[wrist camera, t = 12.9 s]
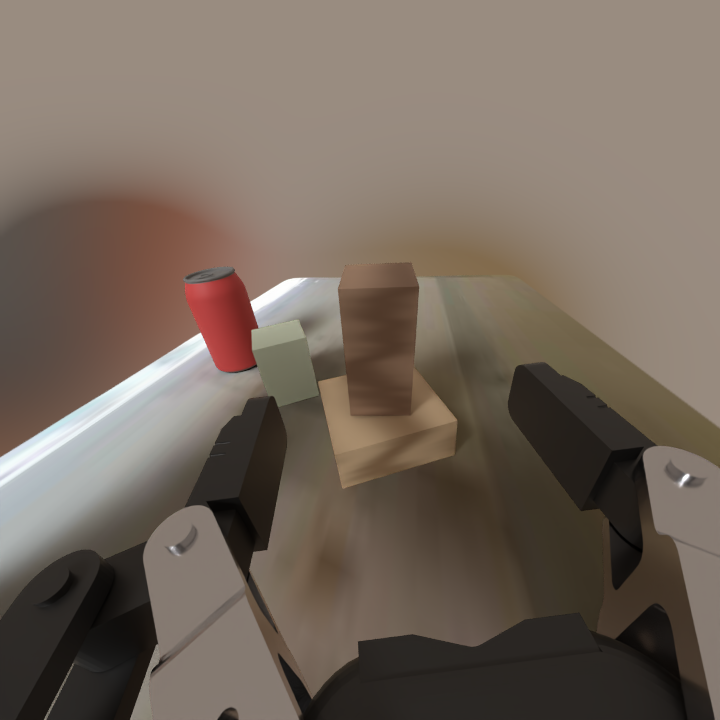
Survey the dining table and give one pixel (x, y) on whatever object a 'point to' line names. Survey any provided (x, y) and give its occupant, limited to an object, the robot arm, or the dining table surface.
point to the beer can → (223, 316)
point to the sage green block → (284, 362)
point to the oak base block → (386, 433)
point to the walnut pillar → (379, 336)
